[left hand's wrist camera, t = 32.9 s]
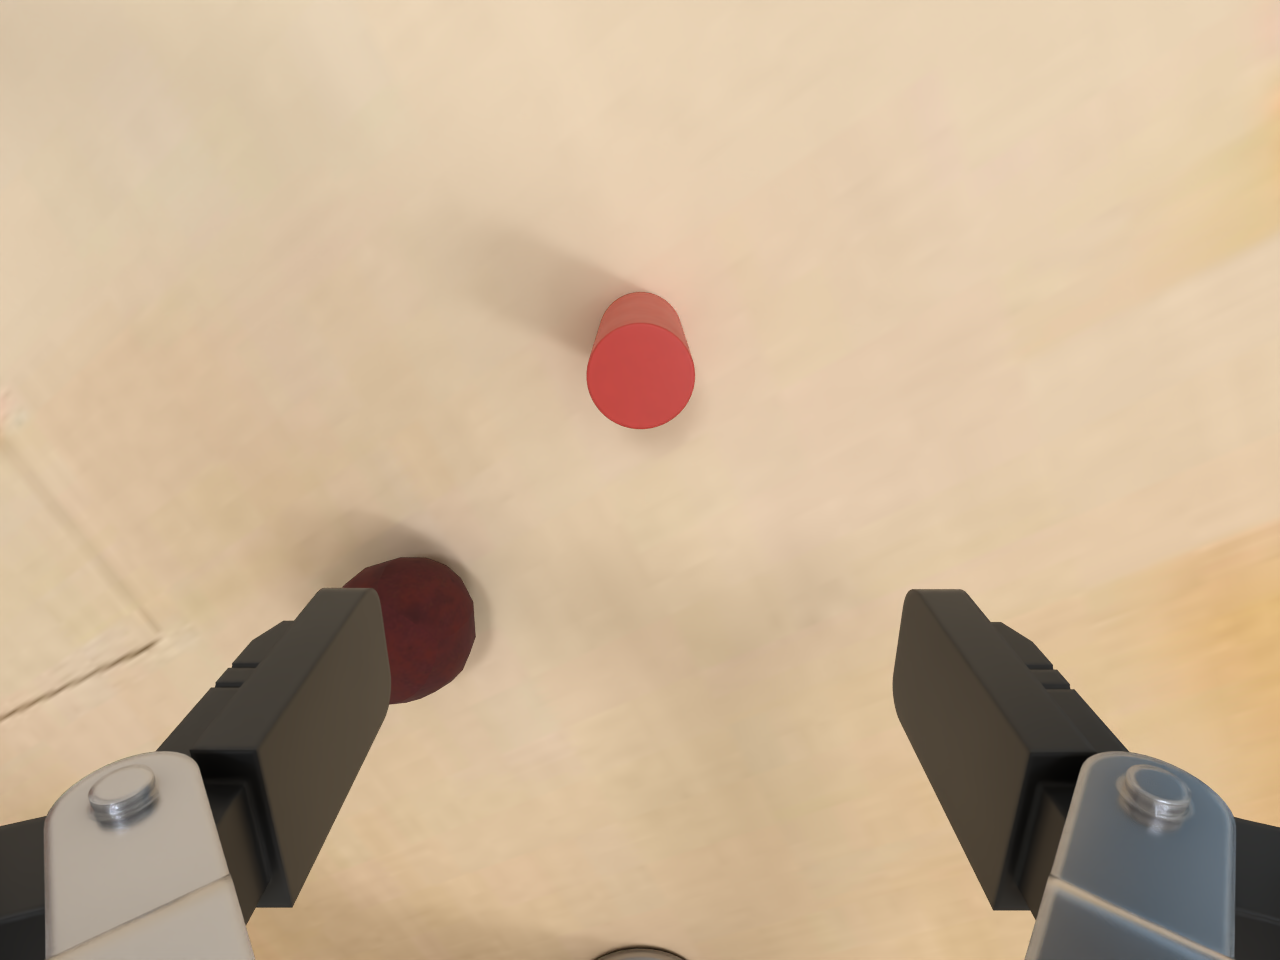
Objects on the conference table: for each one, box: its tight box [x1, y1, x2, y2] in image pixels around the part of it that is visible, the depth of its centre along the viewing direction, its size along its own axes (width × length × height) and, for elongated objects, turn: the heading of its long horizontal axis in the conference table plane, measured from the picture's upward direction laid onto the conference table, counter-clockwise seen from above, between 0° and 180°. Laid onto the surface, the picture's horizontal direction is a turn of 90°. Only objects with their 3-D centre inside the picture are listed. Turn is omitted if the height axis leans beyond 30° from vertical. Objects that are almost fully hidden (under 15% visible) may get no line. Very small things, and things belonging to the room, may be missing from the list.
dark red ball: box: [342, 557, 476, 705], centre depth 38 cm, size 7×8×7 cm
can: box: [587, 292, 695, 429], centre depth 32 cm, size 4×4×9 cm
